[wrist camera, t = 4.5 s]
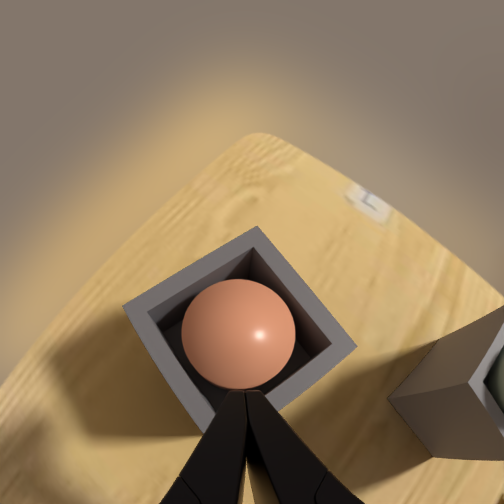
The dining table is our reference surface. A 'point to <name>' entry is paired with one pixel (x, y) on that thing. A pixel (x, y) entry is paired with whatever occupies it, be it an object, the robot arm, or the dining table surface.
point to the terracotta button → (238, 334)
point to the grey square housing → (247, 268)
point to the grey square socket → (457, 394)
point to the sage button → (497, 380)
